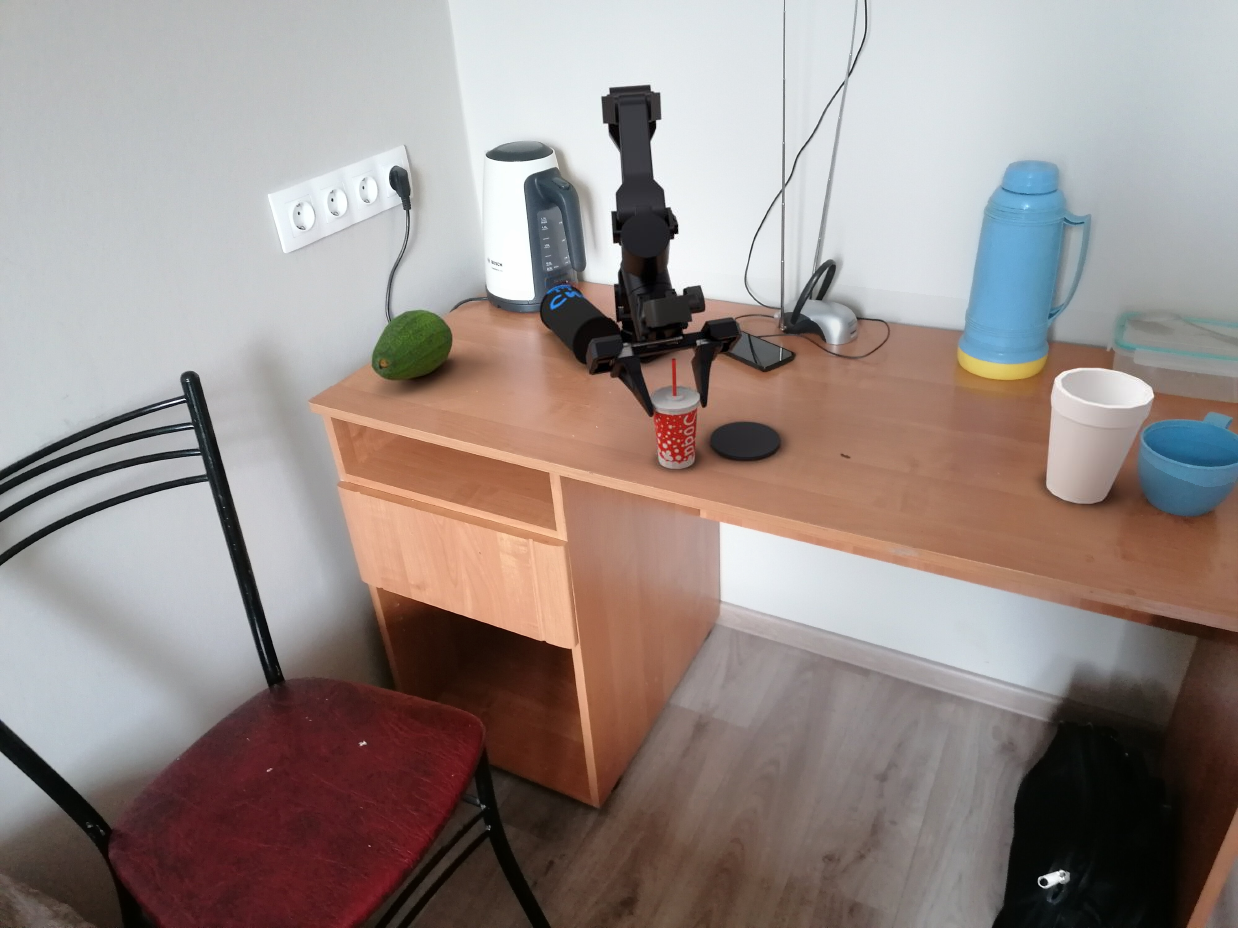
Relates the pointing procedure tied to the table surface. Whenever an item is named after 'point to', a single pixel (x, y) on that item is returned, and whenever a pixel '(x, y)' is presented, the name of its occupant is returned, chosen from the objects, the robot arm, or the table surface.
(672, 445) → the beverage cup
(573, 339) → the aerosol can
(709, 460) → the table surface
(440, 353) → the fruit
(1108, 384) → the foam cup
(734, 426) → the coaster
